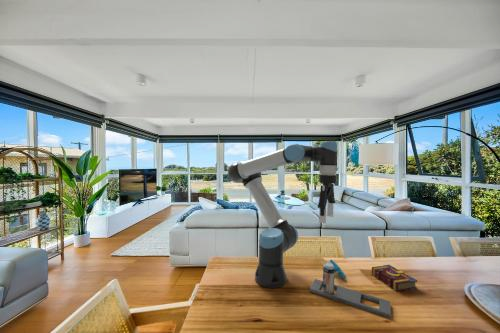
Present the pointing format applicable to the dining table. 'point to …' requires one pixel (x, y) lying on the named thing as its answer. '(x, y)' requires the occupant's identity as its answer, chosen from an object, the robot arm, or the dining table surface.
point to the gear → (338, 269)
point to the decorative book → (394, 278)
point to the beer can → (328, 277)
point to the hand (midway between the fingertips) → (326, 219)
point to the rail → (353, 298)
